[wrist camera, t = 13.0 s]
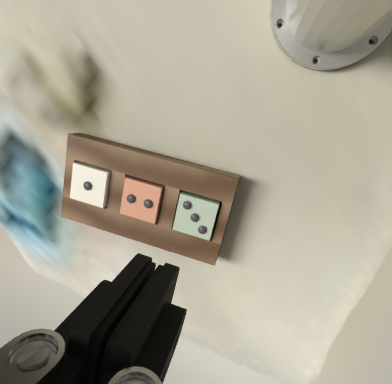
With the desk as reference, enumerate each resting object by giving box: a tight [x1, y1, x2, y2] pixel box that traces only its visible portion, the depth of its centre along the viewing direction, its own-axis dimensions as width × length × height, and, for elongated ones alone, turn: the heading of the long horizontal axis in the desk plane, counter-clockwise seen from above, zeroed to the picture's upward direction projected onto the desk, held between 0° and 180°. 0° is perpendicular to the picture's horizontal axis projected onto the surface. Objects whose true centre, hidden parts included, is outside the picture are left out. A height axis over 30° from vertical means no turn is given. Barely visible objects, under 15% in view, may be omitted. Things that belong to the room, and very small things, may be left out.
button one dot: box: [70, 161, 112, 208], centre depth 38 cm, size 5×5×3 cm
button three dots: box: [173, 191, 221, 241], centre depth 36 cm, size 5×5×3 cm
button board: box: [61, 133, 240, 266], centre depth 38 cm, size 12×23×2 cm, turn 77°
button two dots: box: [120, 176, 165, 224], centre depth 37 cm, size 5×5×3 cm
